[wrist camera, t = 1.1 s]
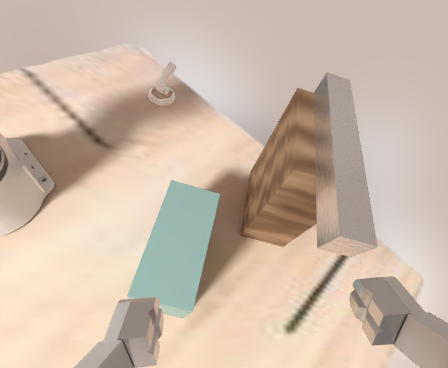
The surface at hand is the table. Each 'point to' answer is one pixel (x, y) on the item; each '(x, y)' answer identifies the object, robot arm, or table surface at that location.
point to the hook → (163, 86)
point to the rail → (340, 172)
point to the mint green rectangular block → (177, 249)
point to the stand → (284, 178)
